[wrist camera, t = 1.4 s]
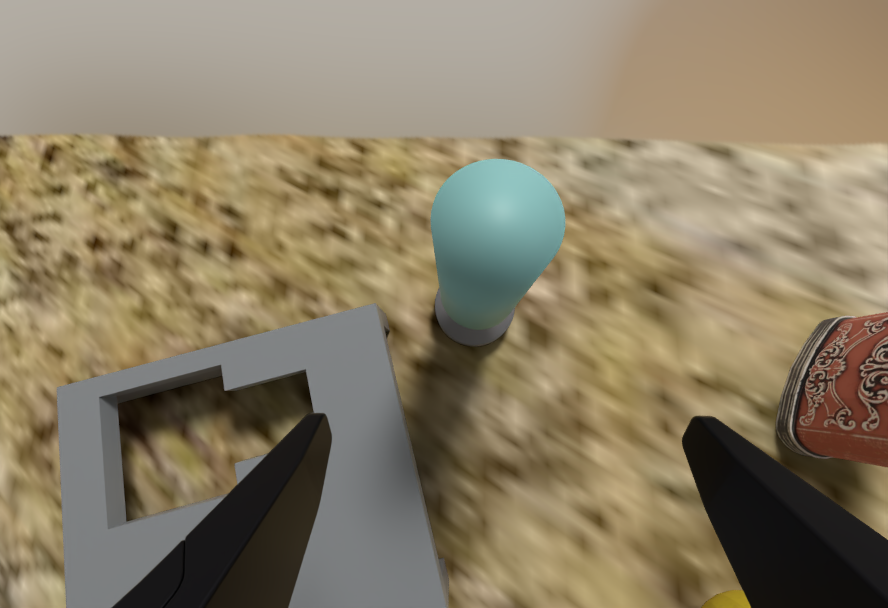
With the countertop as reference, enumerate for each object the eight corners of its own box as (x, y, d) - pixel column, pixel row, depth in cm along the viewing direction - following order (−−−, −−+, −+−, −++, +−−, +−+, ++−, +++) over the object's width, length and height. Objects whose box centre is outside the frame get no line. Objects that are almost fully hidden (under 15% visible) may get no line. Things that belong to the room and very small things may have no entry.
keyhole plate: (448, 579, 19) (448, 614, 16) (131, 671, 18) (71, 725, 16) (385, 314, 22) (375, 303, 19) (110, 387, 21) (56, 387, 18)
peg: (521, 335, 22) (603, 274, 10) (446, 355, 21) (439, 318, 10) (499, 263, 22) (550, 129, 11) (427, 282, 22) (399, 168, 11)
